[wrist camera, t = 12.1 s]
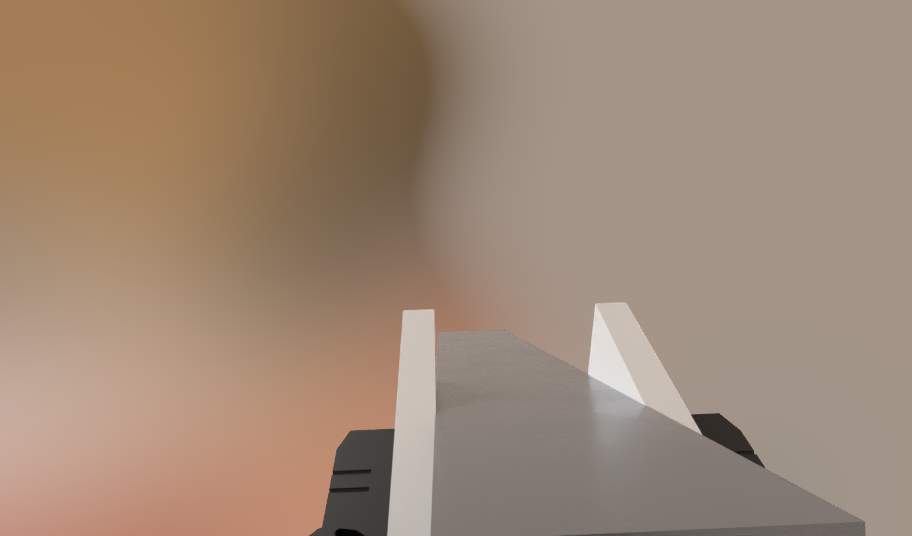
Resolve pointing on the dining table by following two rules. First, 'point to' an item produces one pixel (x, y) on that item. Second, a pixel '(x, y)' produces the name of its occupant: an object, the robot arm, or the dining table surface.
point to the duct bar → (589, 458)
